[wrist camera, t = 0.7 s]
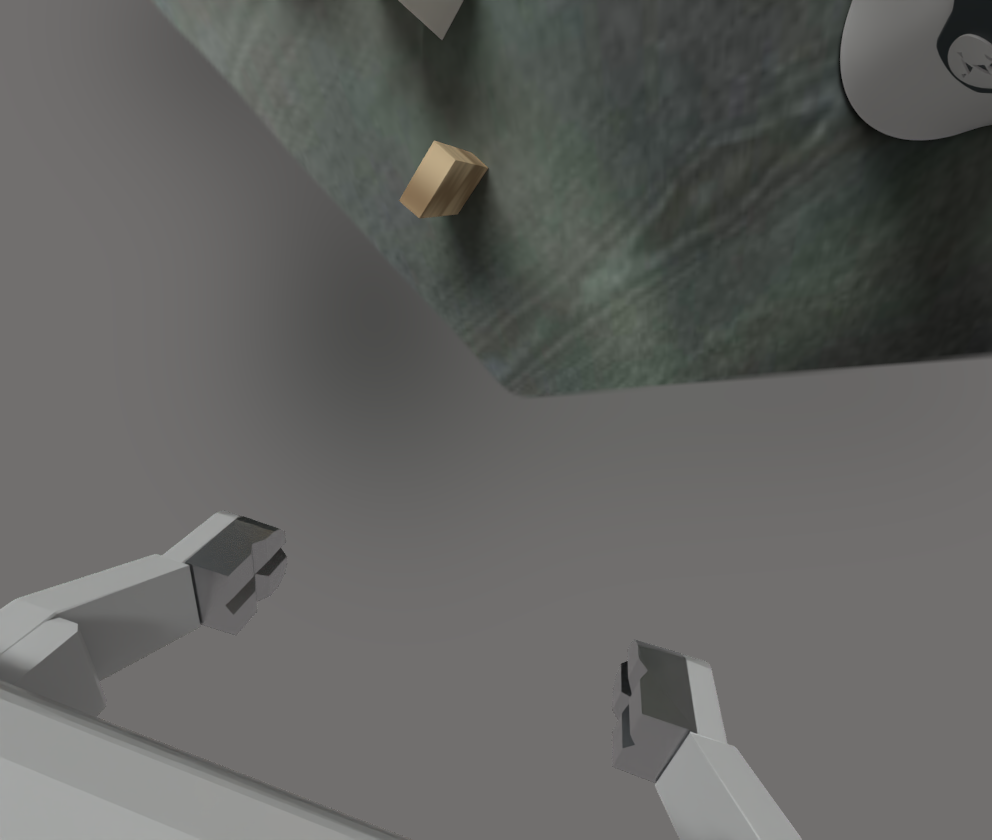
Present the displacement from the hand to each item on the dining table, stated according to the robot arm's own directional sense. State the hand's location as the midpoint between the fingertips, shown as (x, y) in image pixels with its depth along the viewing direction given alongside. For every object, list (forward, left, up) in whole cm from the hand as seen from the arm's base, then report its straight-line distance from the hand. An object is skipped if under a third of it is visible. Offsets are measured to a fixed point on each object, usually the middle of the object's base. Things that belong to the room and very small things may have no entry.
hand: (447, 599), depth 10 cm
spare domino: (0, -14, -40) cm, 42 cm away
